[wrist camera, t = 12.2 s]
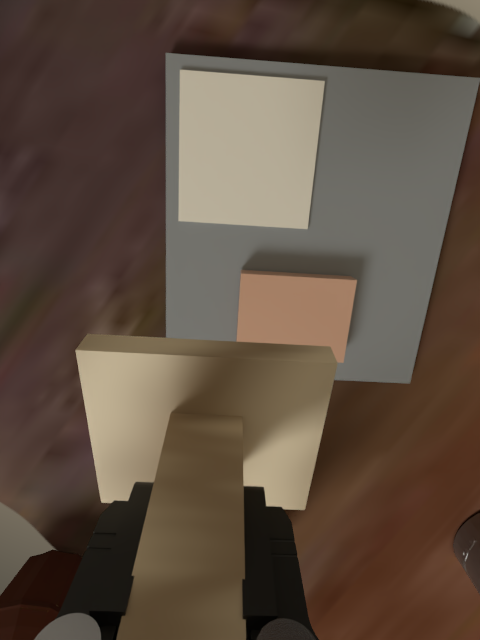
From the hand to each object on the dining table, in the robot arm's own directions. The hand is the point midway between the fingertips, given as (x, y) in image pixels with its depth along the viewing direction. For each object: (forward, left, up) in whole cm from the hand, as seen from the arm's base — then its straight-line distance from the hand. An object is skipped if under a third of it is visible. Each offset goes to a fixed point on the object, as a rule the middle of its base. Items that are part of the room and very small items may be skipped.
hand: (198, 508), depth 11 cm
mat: (-6, -6, -22) cm, 23 cm away
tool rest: (-1, -12, -21) cm, 24 cm away
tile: (-1, 0, -20) cm, 20 cm away
